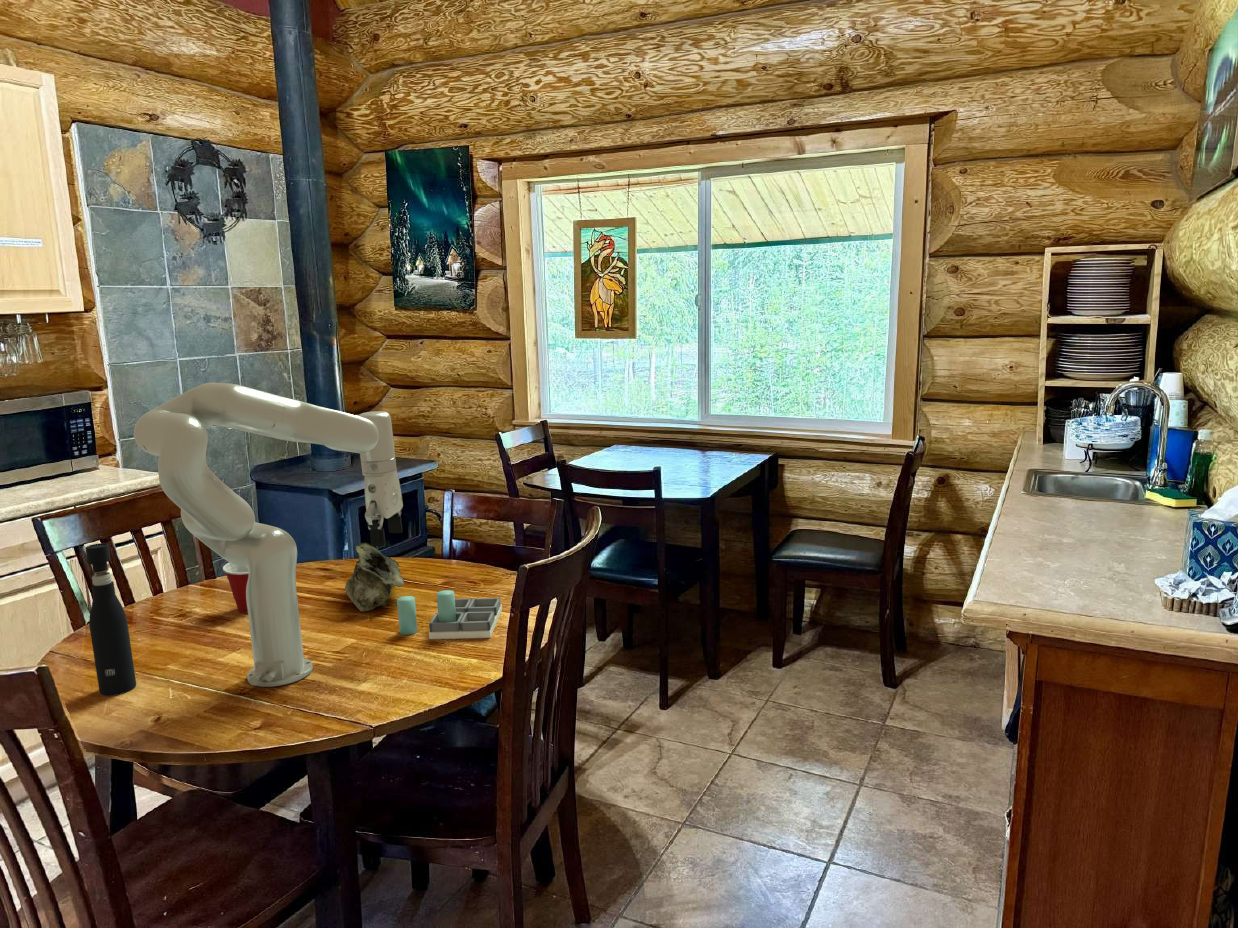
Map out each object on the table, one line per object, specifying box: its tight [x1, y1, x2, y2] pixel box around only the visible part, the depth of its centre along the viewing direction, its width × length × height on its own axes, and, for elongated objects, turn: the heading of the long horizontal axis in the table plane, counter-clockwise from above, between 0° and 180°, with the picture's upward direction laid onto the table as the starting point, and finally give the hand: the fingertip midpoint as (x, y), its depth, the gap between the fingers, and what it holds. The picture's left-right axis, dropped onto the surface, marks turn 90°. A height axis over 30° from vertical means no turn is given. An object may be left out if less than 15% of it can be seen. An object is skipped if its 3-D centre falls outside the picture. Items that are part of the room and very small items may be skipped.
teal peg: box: [396, 595, 418, 636], centre depth 193 cm, size 4×4×8 cm
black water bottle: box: [85, 542, 137, 697], centre depth 165 cm, size 6×6×30 cm
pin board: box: [428, 589, 503, 640], centre depth 196 cm, size 18×14×10 cm
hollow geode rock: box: [344, 542, 405, 613], centre depth 218 cm, size 28×13×15 cm
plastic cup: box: [222, 562, 249, 614], centre depth 211 cm, size 11×11×12 cm
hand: (387, 539), depth 191 cm, fingers open, 9 cm apart
